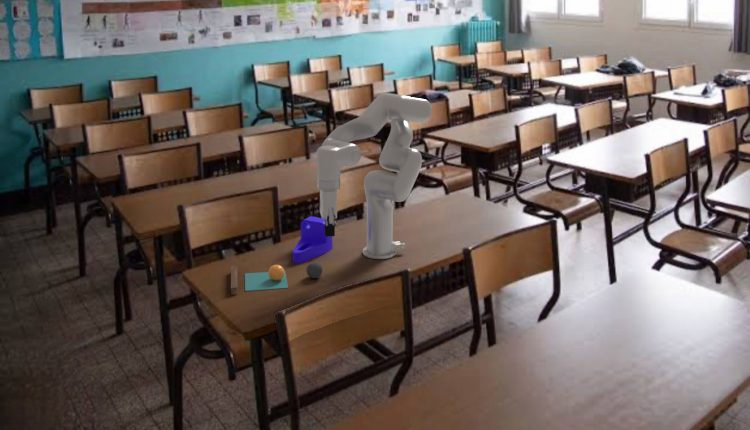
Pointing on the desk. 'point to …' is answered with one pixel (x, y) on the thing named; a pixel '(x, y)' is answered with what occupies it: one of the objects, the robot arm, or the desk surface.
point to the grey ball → (314, 270)
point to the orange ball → (276, 272)
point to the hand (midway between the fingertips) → (329, 235)
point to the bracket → (312, 240)
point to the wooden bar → (234, 280)
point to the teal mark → (263, 282)
